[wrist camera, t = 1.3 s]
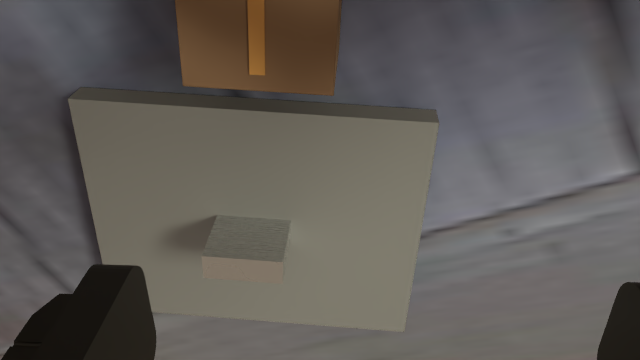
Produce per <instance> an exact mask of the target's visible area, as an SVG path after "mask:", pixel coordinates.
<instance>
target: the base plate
mask: <svg viewBox="0 0 640 360" xmlns="http://www.w3.org/2000/svg"><path fill="white" fill-rule="evenodd" d="M68 102H69V107H70V112H71V117H72V121H73V126H74V131H75V136H76V140H77V145H78V150H79V155H80V159H81V164H82V169H83V174H84V178H85V183H86V188H87V192H88V197H89V202H90V207H91V211H92V216H93V221H94V226H95V230H96V235H97V240H98V245H99V249H100V254H101V259H102V264H105V265H137V266H140V267H141V268H142V270H143V272H144V276H145V280H146V285H147V290H148V295H149V300H150V305H151V310H152V312H158V313H170V314H183V315H196V316H209V317H221V318H234V319H247V320H259V321H272V322H285V323H297V324H310V325H323V326H335V327H348V328H361V329H373V330H386V331H399V332H404V330H405V324H406V318H407V312H408V306H409V300H410V294H411V289H412V283H413V277H414V271H415V265H416V259H417V253H418V247H419V241H420V235H421V229H422V223H423V217H424V211H425V205H426V199H427V193H428V187H429V181H430V175H431V169H432V164H433V158H434V152H435V146H436V140H437V134H438V128H439V120H438V116H437V112H436V110H428V109H412V108H397V107H381V106H366V105H350V104H335V103H319V102H304V101H288V100H273V99H258V98H242V97H227V96H211V95H196V94H180V93H165V92H149V91H134V90H118V89H103V88H87V87H81V88H79V89H78V90H77V91H76V92H75V93H74V94H73V95H71V96H70V97H69V98H68ZM217 215H224V216H238V217H252V218H266V219H280V220H291V242H290V247H289V253H288V258H287V264H286V269H285V275H284V280H283V284H276V283H263V282H250V281H237V280H223V279H210V278H203V268H202V257H201V256H202V253H203V251H204V248H205V246H206V243H207V240H208V238H209V235H210V233H211V230H212V228H213V225H214V222H215V220H216V217H217Z"/></svg>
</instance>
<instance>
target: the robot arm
mask: <svg viewBox="0 0 640 360" xmlns="http://www.w3.org/2000/svg"><path fill="white" fill-rule="evenodd" d="M155 350H156V330H155V325H154V320H153V315H152V310H151V305H150V300H149V295H148V290H147V285H146V280H145V276H144V272H143V270H142V268H141V267H140V266H137V265H105V264H95V265H93V266H91V267H90V268H89V270H88V271H87V273H86V274H85V276H84V277H83V279H82V280H81V282H80V284H79V285H78V287H77V288H76V290H75V291H74V293H73V294H59V295H57V296H56V297H55V298H53V299H52V300H51V301H50V302H48V303H47V304H46V305H45V306H43V307H42V308H41V309H39V310H38V311H37V312H36V313H34V314H33V315H32V316H31V317H30V319H29V320H28V322H27V323H26V325H25V326H24V327H23V329H22V330H21V332H20V333H19V335H18V336H17V338H16V339H15V340H14V345H13V347H10V348H9V349H8V350H7V352H6V353H5V355H4V356H3V358H2V359H1V360H154V356H155ZM597 360H640V283H638V282H627V283H624V284H623V285H622V286H621V287H620V289H619V291H618V293H617V296H616V299H615V302H614V304H613V307H612V310H611V313H610V316H609V319H608V322H607V325H606V328H605V330H604V333H603V336H602V339H601V342H600V345H599V348H598V354H597Z"/></svg>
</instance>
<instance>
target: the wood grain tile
mask: <svg viewBox="0 0 640 360" xmlns="http://www.w3.org/2000/svg"><path fill="white" fill-rule="evenodd" d="M290 242H291V220H280V219H266V218H252V217H238V216H224V215H217V217H216V220H215V222H214V225H213V228H212V230H211V233H210V235H209V238H208V240H207V243H206V246H205V248H204V251H203V253H202V256H201V257H202V268H203V278H210V279H223V280H237V281H250V282H263V283H276V284H283V280H284V275H285V269H286V264H287V258H288V253H289V247H290Z"/></svg>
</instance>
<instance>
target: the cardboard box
mask: <svg viewBox="0 0 640 360" xmlns="http://www.w3.org/2000/svg"><path fill="white" fill-rule="evenodd" d="M341 5H342V0H175V6H176V17H177V28H178V38H179V49H180V60H181V70H182V81H183V86H189V87H205V88H221V89H236V90H252V91H268V92H283V93H299V94H314V95H330V96H334V87H335V79H336V70H337V62H338V53H339V39H340V22H341Z"/></svg>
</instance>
